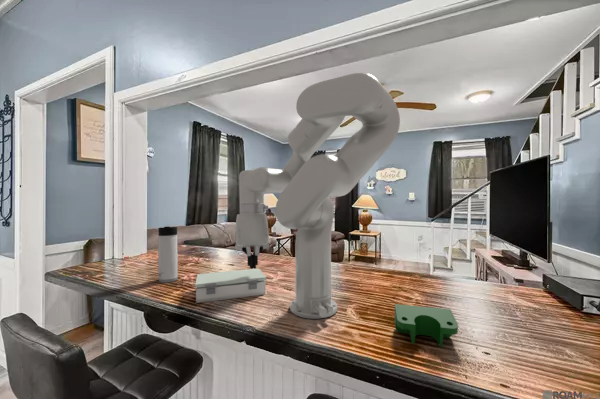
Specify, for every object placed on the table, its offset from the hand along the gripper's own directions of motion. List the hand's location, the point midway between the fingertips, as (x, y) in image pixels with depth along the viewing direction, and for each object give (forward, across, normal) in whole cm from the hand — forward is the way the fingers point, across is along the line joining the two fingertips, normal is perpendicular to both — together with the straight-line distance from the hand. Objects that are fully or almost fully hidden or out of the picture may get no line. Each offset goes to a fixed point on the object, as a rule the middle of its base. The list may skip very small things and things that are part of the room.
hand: (252, 267), depth 82 cm
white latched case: (+8, +6, -3) cm, 11 cm away
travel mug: (+8, +27, -23) cm, 37 cm away
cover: (+4, +7, -3) cm, 8 cm away
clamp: (+9, -30, +39) cm, 50 cm away
